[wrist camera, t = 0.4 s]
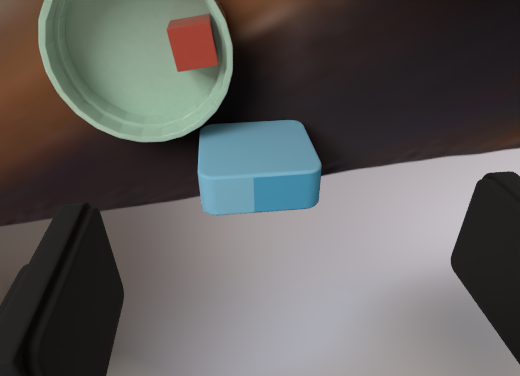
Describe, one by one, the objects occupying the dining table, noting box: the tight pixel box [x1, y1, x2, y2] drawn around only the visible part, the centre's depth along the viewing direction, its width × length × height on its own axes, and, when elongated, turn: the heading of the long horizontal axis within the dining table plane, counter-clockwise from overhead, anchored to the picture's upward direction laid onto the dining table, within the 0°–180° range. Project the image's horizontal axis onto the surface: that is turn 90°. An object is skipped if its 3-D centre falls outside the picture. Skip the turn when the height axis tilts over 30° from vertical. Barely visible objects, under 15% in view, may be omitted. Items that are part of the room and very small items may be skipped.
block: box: [166, 14, 218, 72], centre depth 38 cm, size 4×4×4 cm
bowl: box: [38, 0, 233, 142], centre depth 38 cm, size 17×17×5 cm
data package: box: [198, 120, 322, 215], centre depth 43 cm, size 12×4×12 cm, turn 91°
